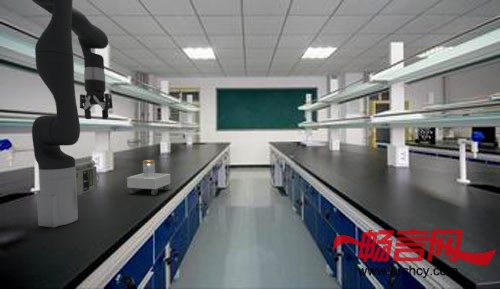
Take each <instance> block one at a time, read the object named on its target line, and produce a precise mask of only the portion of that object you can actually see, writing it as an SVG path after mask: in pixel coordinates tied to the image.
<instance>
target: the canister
mask: <svg viewBox="0 0 500 289" xmlns="http://www.w3.org/2000/svg"><path fill="white" fill-rule="evenodd" d="M155 161H156V160H155V159H144V160H142V173H143V178H155V173H156V167H155V165H156V164H155Z"/></svg>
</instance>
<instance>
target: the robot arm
mask: <svg viewBox="0 0 500 289" xmlns="http://www.w3.org/2000/svg"><path fill="white" fill-rule="evenodd" d="M31 1H32V2H33V3H35V4H36V5H37V6H39V7H41V8H42V9H43V10H45V11H47V12H48V13H49V14H51V19H50V20H49V22H48V24H47V27H46V28H45V29H44V30H43V32H42V33H41V35H40V36H39V38H38V40H37V41H36V43H35V46H34V48H35V49H34V51H35V52H34V53H35V54H34V55H35V56H34V57H35V67H36V71H37V74H38V76H39V77H40V78H41V80H42V82H43V83H44V84H45V86H46V87H47V89H48V90H49V92H50V93H51V95H52V97H53V99H54V103H55V110H56V115H41V116H38V117H36V118H35V119H34V121H33V123H32V127H31V139H32V146H33V147H32V148H33V153H34V159H35V161H36V163H37V165H38V180H39V183H38V184H39V193H37V194H36V207H37V210H36V211H37V224H38V226H39V227H48V228H56V227H61V226H65V225H69V224H72V223H74V222H77V221H78V219H79V218H78V217H79V214H78V213H79V212H78V196H77V190H76V168H75V164H76V159H75V158H74V156H71V155H70V154H67V153H65V152H64V151H62V150H61V146H73V145H75V144H76V143H78V142H79V139H80V136H81V135H80V134H81V126H80V125H81V124H80V117H79V112H78V105H77V99H76V88H75V64H74V50H73V49H74V48H73V37H72V36H73V35H72V32H73V33H74V34H75V35H76V36H77V40H78V43H79V45H80V49H81V52H82V55H83V61H84V62H83V63H84V70H83V72H84V73H83V76H84V81H83V82H84V90H85V92H86V94H82V93H81V94H79V108H80V109H81V110H83V112H84V117H85V118H84V119H85V120H92V111H91V109H92V108H93V107H95V106H98V105H99V106H100V108H101V119H102V120H108V118H109V109H113V97H112V94H111V93H105V92H106V91H107V90H106V87H107V86H106V72H105V61H104V60H105V59H104V57H103V56H102V55H101V54H98V53H95V52H93V51H92V50H91V49H94V50H99V49H100V50H103V49H105V48H107V47H108V46H109V39H108V36H107V34H106V33H105V32H104V31H103V30H102V29H101V28H100V27H98V26H96V25H94V24H92V23H91V21H90V20H89V19H88V18H87V16H85V14H84V13H82V12H81V11H80V10H78V9H76V8H75V7H73V0H31Z"/></svg>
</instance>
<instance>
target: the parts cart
mask: <svg viewBox="0 0 500 289" xmlns="http://www.w3.org/2000/svg"><path fill="white" fill-rule="evenodd" d="M126 182H127V183H126V184H127V185H126V186H127V188H129V190H128V191H129V194H132V195H133V194H134V195H135V194H136V192H137V189H143V190H150V191H151V192H150V193H151V195H152V196H156V195H157V194H158V189H160V188H162V190H163V191H168V190H169V188H170V186H169V185H170V184H171V173H156V172H155V178H143V172H142V173H139V174H135V175H130V176H128V177H126Z"/></svg>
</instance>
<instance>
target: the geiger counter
mask: <svg viewBox="0 0 500 289" xmlns="http://www.w3.org/2000/svg"><path fill="white" fill-rule="evenodd" d="M75 168H76V190H77V197H79V196H81V195H83V193H84V194H86V193H89V192H92V191H94V190H96V188H97V189H98V183H100V176H99V175H98V173H97V166H96V161H95V160H93V159H91V160H86V161H84V162H80V163H79V162H78V163H75ZM93 189H94V190H93ZM88 191H89V192H88ZM78 195H79V196H78Z"/></svg>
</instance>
